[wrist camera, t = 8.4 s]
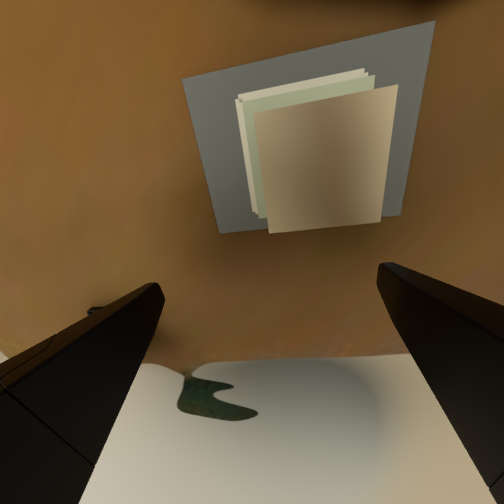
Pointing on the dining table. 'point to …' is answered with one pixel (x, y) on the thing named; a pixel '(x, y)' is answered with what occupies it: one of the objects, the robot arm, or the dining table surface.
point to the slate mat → (297, 78)
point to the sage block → (285, 101)
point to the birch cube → (326, 160)
